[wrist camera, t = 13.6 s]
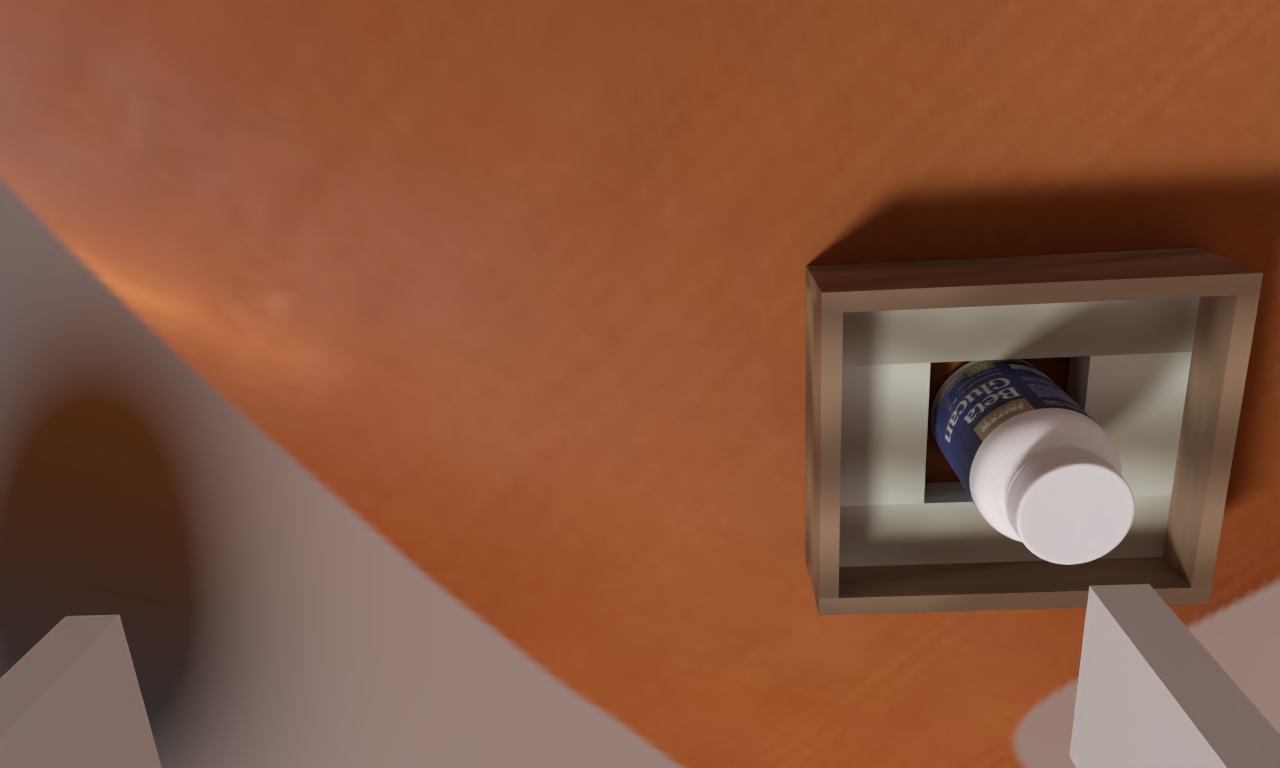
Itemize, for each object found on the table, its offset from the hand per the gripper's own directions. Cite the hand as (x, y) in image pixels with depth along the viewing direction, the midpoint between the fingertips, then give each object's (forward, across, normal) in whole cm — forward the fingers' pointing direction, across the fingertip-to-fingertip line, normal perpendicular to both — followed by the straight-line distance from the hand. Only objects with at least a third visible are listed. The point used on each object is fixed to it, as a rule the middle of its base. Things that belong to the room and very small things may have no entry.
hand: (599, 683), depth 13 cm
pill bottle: (+29, +14, -8) cm, 33 cm away
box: (+29, +14, -8) cm, 33 cm away
